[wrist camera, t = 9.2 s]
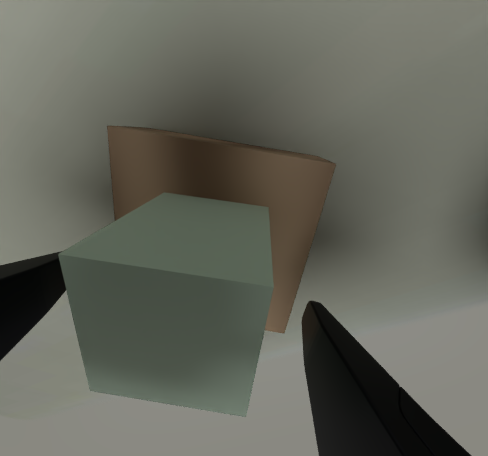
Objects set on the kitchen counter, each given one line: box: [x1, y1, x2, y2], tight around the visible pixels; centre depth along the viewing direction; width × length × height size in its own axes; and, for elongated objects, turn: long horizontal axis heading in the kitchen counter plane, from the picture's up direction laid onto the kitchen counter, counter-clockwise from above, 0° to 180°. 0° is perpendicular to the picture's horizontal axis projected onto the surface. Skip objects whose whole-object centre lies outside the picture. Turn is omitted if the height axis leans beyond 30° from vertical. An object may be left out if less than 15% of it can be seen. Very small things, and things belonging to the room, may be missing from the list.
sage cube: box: [58, 192, 274, 417], centre depth 9 cm, size 5×5×6 cm
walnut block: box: [107, 126, 336, 333], centre depth 13 cm, size 10×10×4 cm
